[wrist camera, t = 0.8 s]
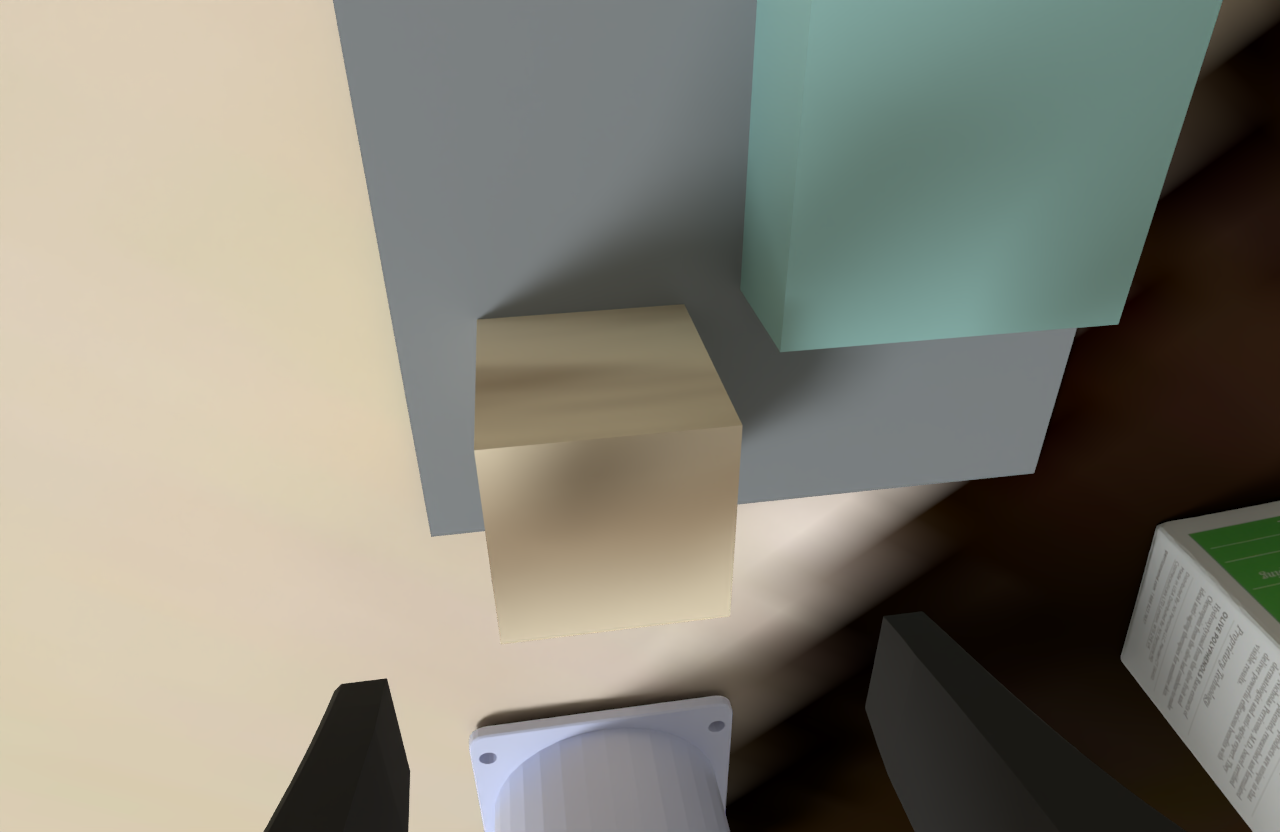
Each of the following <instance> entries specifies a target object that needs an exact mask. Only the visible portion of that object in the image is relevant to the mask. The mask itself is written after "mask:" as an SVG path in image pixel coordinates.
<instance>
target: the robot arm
mask: <svg viewBox="0 0 1280 832" xmlns="http://www.w3.org/2000/svg"><path fill="white" fill-rule="evenodd" d="M865 709H866V712H867V715H868V718H869V721H870V724H871V727H872V730H873V733H874V736H875V739H876V742H877V745H878V748H879V751H880V754H881V756H882V759H883V762H884V765H885V768H886V770H887V773H888V776H889V778H890V780H891V782H892V784H893V786H894V789H895V791H896V793H897V795H898V797H899V799H900V801H901V803H902V805H903V808H904V810H905V812H906V814H907V816H908V818H909V820H910V822H911V824H912V826H913V829H914V831H915V832H1186V831H1185V830H1183V829H1182V828H1181V827H1179V826H1178V825H1176V824H1175V823H1174V822H1172V821H1171V820H1169V819H1168V818H1166V817H1165V816H1164V815H1162V814H1161V813H1159V812H1158V811H1157V810H1155V809H1154V808H1152V807H1151V806H1149V805H1148V804H1147V803H1145V802H1144V801H1143V800H1141V799H1140V798H1138V797H1137V796H1136V795H1134V794H1133V793H1132V792H1130V791H1129V790H1128V789H1126V788H1125V787H1124V786H1122V785H1121V784H1120V783H1119V782H1117V781H1116V780H1115V779H1113V778H1112V777H1111V776H1110V775H1108V774H1107V773H1106V772H1105V771H1103V770H1102V769H1101V768H1100V767H1098V766H1097V765H1096V764H1094V763H1093V762H1092V761H1091V760H1089V759H1088V758H1087V757H1086V756H1084V755H1083V754H1082V753H1081V752H1079V751H1078V750H1077V749H1076V748H1075V747H1073V746H1072V745H1071V744H1070V743H1069V742H1067V741H1066V740H1065V739H1064V738H1063V737H1061V736H1060V735H1059V734H1058V733H1057V732H1055V731H1054V730H1053V729H1052V728H1051V727H1050V726H1049V725H1047V724H1046V723H1045V722H1044V721H1043V720H1042V719H1041V718H1039V717H1038V716H1037V715H1036V714H1035V713H1034V712H1032V711H1031V710H1030V709H1029V708H1028V707H1027V706H1026V705H1024V704H1023V703H1022V702H1021V701H1020V700H1019V699H1017V698H1016V697H1015V696H1014V695H1013V694H1012V693H1011V692H1010V691H1009V690H1007V689H1006V688H1005V687H1004V686H1003V685H1002V684H1001V683H1000V682H999V681H997V680H996V679H995V678H994V677H993V676H992V675H991V674H990V673H989V672H988V671H987V670H985V669H984V668H983V667H982V666H981V665H980V664H979V663H978V662H977V661H976V660H975V659H974V658H972V657H971V656H970V655H969V654H968V653H967V652H966V651H965V650H964V649H963V648H962V647H961V646H960V645H958V644H957V643H956V642H955V641H954V640H953V639H952V638H951V637H950V636H949V635H948V634H947V633H946V632H944V631H943V630H942V629H941V628H940V627H939V626H938V625H937V624H936V623H935V622H934V621H932V620H931V619H930V618H929V617H928V616H927V615H926V614H925V613H924V612H923V611H921V612H913V613H905V614H897V615H889V616H883V621H882V626H881V631H880V636H879V641H878V646H877V651H876V656H875V661H874V666H873V671H872V676H871V681H870V686H869V691H868V696H867V700H866V705H865ZM732 716H733V711H732V707H731V704H730V701H729V700H728V699H727V698H726V697H723V696H708V697H701V698H693V699H686V700H678V701H671V702H663V703H656V704H649V705H641V706H634V707H626V708H619V709H611V710H604V711H596V712H589V713H582V714H574V715H567V716H559V717H552V718H544V719H537V720H529V721H522V722H515V723H507V724H500V725H492V726H485V727H481V728H478V729H477V730H475V731H473V732H472V734H471V735H470V739H469V750H470V755H471V761H472V766H473V772H474V777H475V782H476V788H477V793H478V799H479V804H480V810H481V815H482V820H483V826H484V831H485V832H730V829H729V825H728V822H727V818H726V814H725V810H726V797H727V783H728V770H729V756H730V743H731V730H732ZM409 788H410V769H409V765H408V761H407V757H406V753H405V749H404V745H403V741H402V737H401V733H400V729H399V725H398V721H397V717H396V713H395V709H394V705H393V701H392V697H391V693H390V689H389V685H388V681H387V679H379V680H371V681H363V682H355V683H347V684H341V685H340V686H339V687H338V688H337V689H336V690H335V691H334V693H333V696H332V698H331V700H330V703H329V705H328V707H327V710H326V712H325V714H324V716H323V718H322V720H321V723H320V725H319V727H318V729H317V731H316V733H315V735H314V737H313V740H312V742H311V744H310V746H309V748H308V750H307V752H306V754H305V756H304V758H303V760H302V762H301V763H300V765H299V767H298V769H297V771H296V773H295V775H294V777H293V779H292V781H291V783H290V785H289V787H288V788H287V790H286V792H285V794H284V796H283V798H282V799H281V801H280V803H279V805H278V807H277V808H276V810H275V812H274V814H273V816H272V818H271V819H270V821H269V823H268V825H267V827H266V828H265V830H264V832H408V822H409Z"/></svg>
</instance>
